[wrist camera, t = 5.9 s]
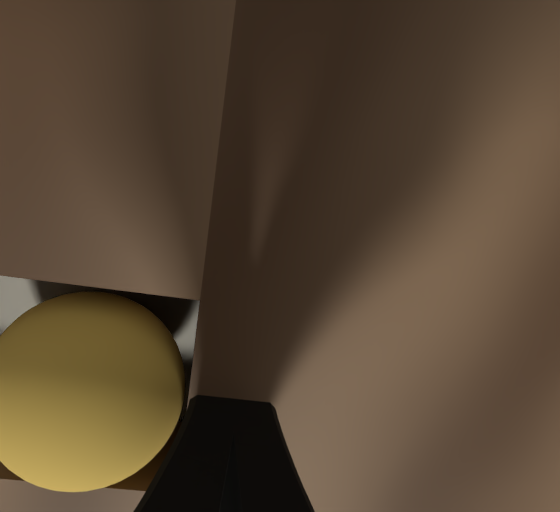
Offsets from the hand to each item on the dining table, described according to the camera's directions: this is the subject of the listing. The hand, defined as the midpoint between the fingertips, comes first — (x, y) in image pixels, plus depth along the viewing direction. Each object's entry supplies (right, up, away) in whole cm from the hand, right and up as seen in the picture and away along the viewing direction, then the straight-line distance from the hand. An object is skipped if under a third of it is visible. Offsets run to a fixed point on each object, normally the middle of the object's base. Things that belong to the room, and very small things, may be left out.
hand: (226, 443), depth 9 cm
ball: (-3, +1, +1) cm, 3 cm away
